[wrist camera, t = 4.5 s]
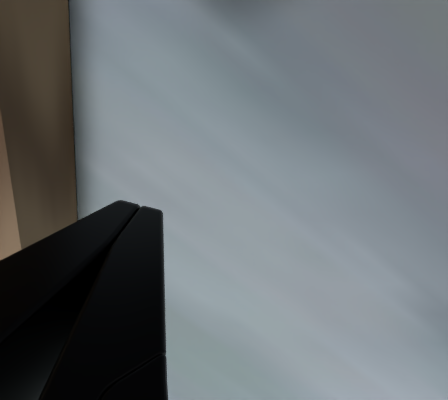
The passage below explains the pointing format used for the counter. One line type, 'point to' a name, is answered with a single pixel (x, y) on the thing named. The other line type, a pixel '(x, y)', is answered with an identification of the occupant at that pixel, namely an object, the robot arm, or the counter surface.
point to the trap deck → (35, 123)
